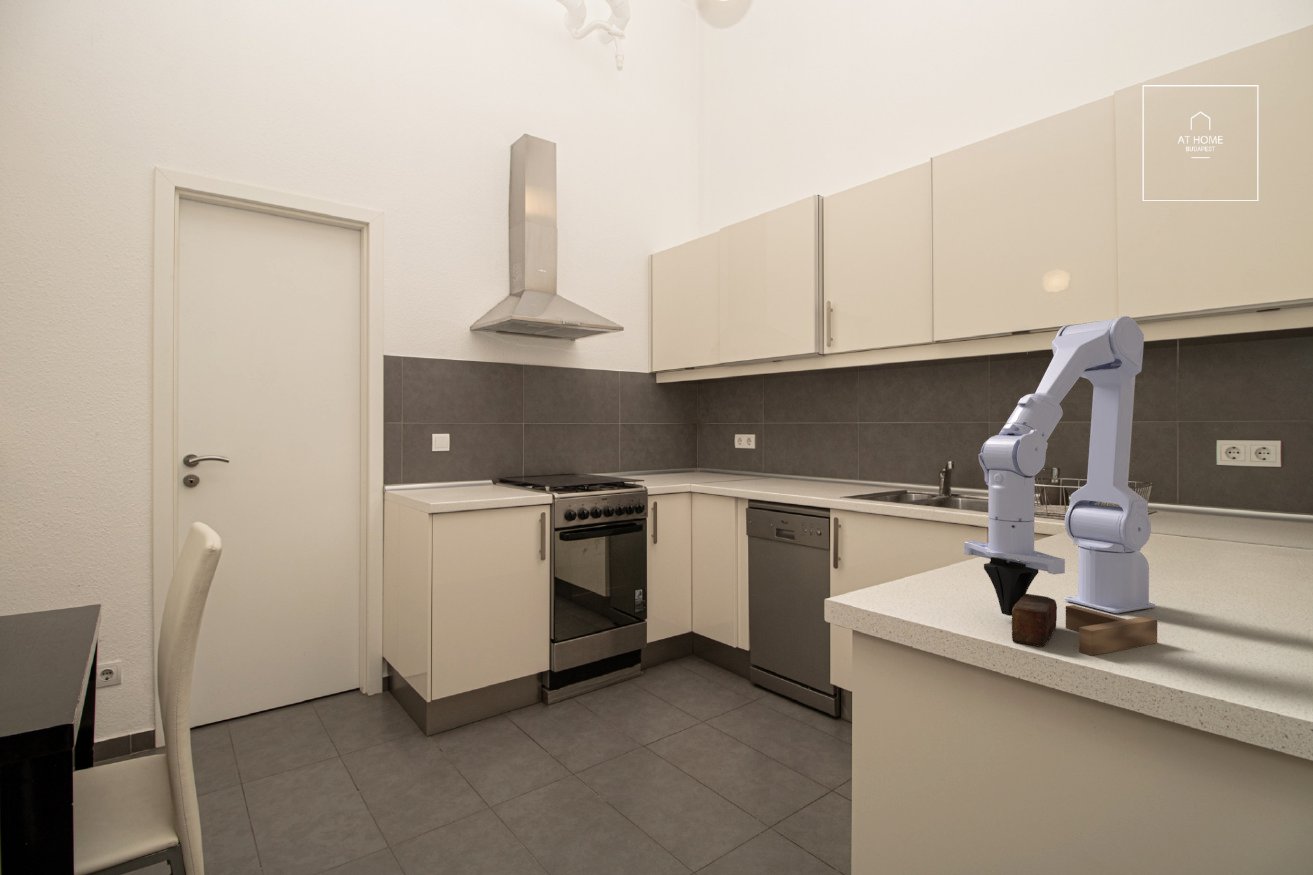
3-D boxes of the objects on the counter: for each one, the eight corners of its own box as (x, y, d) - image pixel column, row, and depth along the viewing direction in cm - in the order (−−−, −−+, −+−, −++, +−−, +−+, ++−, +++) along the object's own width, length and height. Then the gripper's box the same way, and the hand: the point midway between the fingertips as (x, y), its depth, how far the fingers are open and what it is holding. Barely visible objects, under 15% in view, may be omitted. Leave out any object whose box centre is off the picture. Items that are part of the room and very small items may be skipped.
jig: (1090, 623, 88) (1090, 602, 88) (1157, 642, 80) (1157, 619, 80) (1026, 634, 83) (1026, 611, 83) (1091, 655, 75) (1091, 631, 75)
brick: (1046, 649, 78) (1047, 611, 78) (1010, 642, 80) (1011, 606, 80) (1057, 628, 86) (1057, 594, 86) (1024, 623, 89) (1024, 590, 89)
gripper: (949, 514, 94) (948, 603, 95) (1038, 527, 81) (1037, 632, 81) (983, 511, 97) (983, 598, 97) (1076, 524, 83) (1075, 626, 84)
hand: (1010, 613), depth 89 cm, fingers closed
